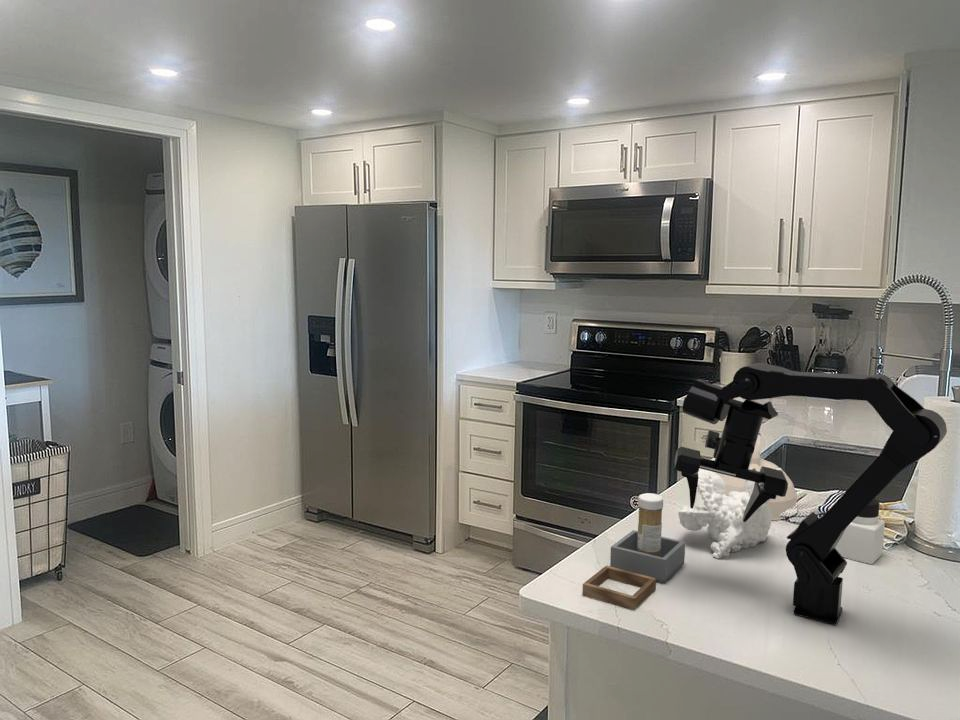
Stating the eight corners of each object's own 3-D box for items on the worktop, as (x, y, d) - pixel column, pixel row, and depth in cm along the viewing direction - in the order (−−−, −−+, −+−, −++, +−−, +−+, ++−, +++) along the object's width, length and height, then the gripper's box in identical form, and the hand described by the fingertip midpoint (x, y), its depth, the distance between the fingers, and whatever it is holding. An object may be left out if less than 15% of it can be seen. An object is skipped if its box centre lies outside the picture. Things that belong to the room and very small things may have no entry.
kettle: (704, 515, 166) (708, 438, 164) (709, 489, 186) (713, 420, 183) (800, 526, 159) (805, 447, 157) (795, 499, 178) (800, 427, 176)
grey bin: (684, 564, 139) (685, 541, 138) (664, 584, 130) (665, 560, 129) (632, 551, 144) (633, 530, 144) (610, 569, 136) (610, 546, 135)
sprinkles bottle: (638, 558, 140) (640, 491, 138) (662, 561, 138) (664, 494, 137) (634, 567, 136) (636, 498, 134) (659, 571, 134) (661, 501, 132)
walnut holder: (655, 589, 128) (656, 578, 128) (634, 610, 120) (634, 598, 120) (605, 575, 133) (606, 565, 133) (582, 594, 125) (582, 584, 125)
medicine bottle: (882, 554, 144) (887, 496, 142) (872, 565, 139) (877, 505, 137) (844, 545, 149) (848, 488, 147) (832, 555, 143) (837, 496, 142)
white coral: (789, 489, 156) (779, 459, 140) (782, 583, 149) (770, 562, 133) (700, 480, 165) (681, 451, 150) (690, 568, 158) (668, 547, 142)
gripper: (788, 432, 131) (765, 509, 135) (684, 408, 135) (665, 483, 139) (799, 453, 120) (773, 536, 124) (686, 426, 124) (665, 507, 128)
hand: (717, 514), depth 129 cm, fingers open, 9 cm apart
